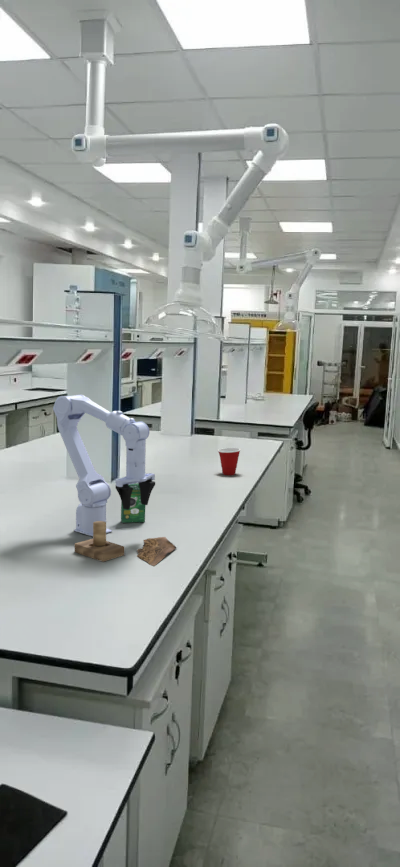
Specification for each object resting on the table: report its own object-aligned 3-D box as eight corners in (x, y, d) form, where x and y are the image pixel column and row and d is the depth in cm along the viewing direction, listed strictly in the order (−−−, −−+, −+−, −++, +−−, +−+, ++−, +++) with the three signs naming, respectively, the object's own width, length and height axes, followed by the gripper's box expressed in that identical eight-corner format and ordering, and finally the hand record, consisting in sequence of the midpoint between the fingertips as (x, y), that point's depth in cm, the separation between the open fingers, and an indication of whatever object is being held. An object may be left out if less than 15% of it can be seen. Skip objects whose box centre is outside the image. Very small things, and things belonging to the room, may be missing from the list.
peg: (90, 553, 184) (90, 522, 183) (100, 550, 186) (100, 520, 185) (98, 556, 181) (98, 525, 180) (108, 553, 184) (108, 522, 183)
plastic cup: (215, 471, 307) (216, 446, 305) (238, 472, 308) (239, 447, 306) (218, 476, 296) (218, 450, 294) (241, 476, 297) (242, 450, 295)
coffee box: (144, 520, 220) (145, 482, 218) (145, 522, 217) (146, 484, 216) (120, 521, 218) (121, 482, 216) (121, 523, 215) (122, 484, 214)
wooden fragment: (145, 537, 201) (145, 534, 201) (181, 539, 200) (181, 536, 200) (128, 565, 176) (128, 562, 175) (168, 568, 175) (169, 564, 174)
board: (74, 552, 185) (74, 543, 184) (96, 545, 191) (96, 537, 191) (103, 561, 177) (103, 552, 177) (124, 555, 183) (124, 546, 183)
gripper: (127, 467, 186) (127, 513, 188) (162, 461, 197) (161, 504, 199) (110, 464, 191) (110, 509, 192) (145, 458, 202) (145, 500, 203)
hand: (135, 506), depth 196 cm, fingers open, 7 cm apart
